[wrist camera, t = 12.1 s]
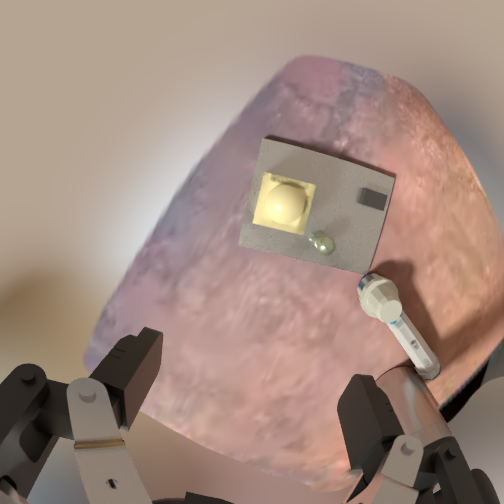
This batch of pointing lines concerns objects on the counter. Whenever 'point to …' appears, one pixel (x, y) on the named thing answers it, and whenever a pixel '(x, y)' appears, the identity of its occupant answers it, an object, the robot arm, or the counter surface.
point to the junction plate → (322, 208)
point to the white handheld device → (397, 322)
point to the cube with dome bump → (284, 203)
